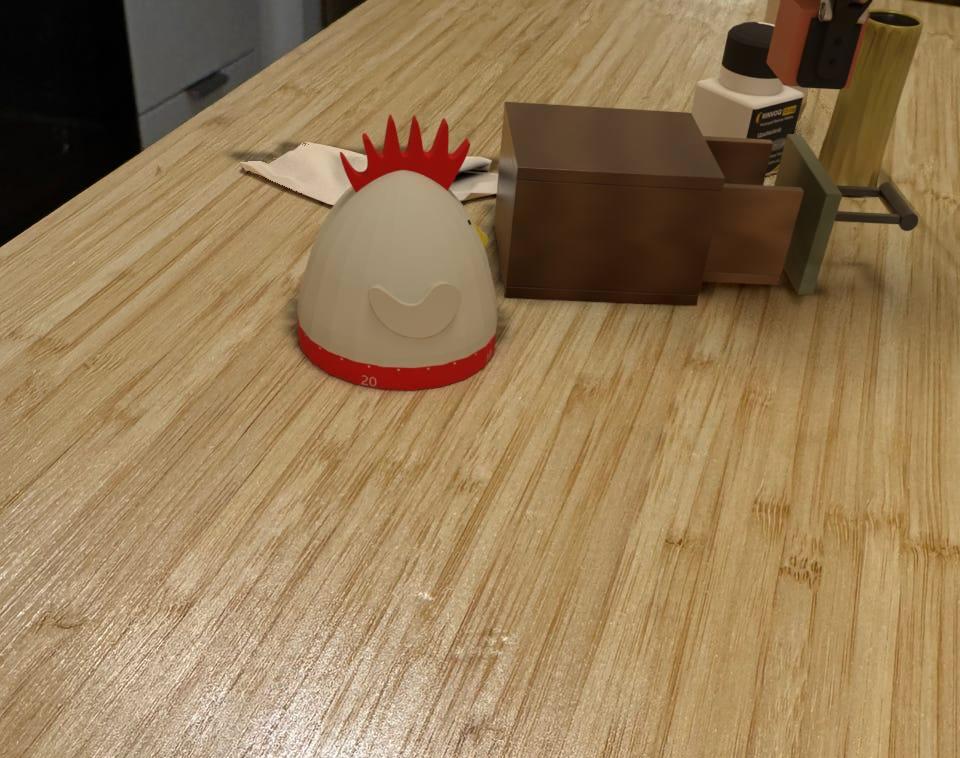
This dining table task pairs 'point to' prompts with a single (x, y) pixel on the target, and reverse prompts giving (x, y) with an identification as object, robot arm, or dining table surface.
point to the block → (797, 39)
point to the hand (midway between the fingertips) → (809, 69)
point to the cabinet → (604, 204)
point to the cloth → (327, 181)
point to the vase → (870, 99)
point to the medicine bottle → (748, 94)
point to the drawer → (782, 213)
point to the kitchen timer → (399, 273)
